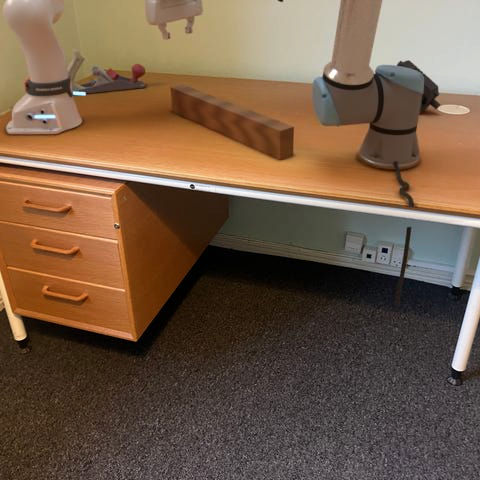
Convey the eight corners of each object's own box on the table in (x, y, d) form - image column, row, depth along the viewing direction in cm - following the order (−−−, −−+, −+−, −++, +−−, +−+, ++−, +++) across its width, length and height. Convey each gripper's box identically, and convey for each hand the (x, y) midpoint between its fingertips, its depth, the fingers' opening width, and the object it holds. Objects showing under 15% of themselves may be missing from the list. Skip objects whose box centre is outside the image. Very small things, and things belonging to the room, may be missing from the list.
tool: (378, 91, 179) (405, 54, 169) (421, 128, 175) (451, 93, 164) (370, 95, 176) (396, 58, 165) (413, 134, 171) (443, 98, 161)
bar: (293, 155, 142) (294, 126, 138) (279, 160, 140) (280, 131, 136) (184, 108, 178) (182, 84, 173) (172, 111, 175) (170, 87, 171)
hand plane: (62, 90, 197) (53, 48, 189) (145, 82, 205) (140, 41, 197) (62, 96, 191) (54, 53, 184) (148, 87, 199) (143, 45, 191)
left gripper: (190, -20, 160) (194, 29, 167) (138, -11, 146) (145, 41, 154) (205, -19, 156) (209, 30, 163) (154, -10, 143) (160, 43, 150)
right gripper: (344, -89, 146) (339, -4, 157) (257, -87, 141) (257, 0, 152) (356, -89, 140) (349, -1, 151) (265, -87, 135) (264, 4, 146)
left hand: (178, 36), depth 158 cm, fingers open, 8 cm apart
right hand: (303, 0), depth 152 cm, fingers open, 13 cm apart
